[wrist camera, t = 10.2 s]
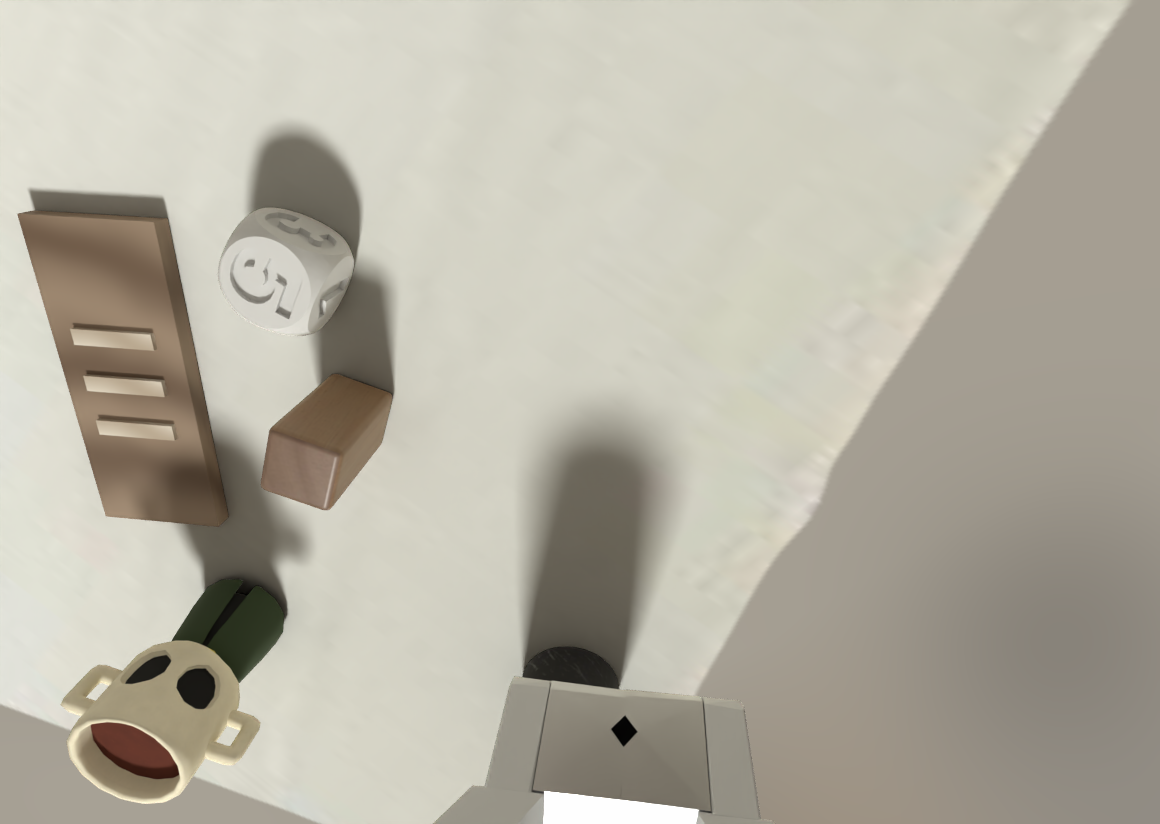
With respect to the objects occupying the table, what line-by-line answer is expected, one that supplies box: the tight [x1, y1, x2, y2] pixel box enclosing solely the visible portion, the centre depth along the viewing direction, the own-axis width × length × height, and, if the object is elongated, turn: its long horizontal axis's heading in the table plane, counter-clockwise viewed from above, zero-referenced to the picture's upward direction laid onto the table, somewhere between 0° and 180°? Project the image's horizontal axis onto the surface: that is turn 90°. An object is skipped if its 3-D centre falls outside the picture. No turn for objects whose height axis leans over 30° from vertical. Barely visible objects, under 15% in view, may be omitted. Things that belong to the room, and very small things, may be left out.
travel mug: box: [522, 647, 618, 689], centre depth 42 cm, size 8×8×20 cm
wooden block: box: [261, 374, 392, 510], centre depth 40 cm, size 4×4×8 cm
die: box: [218, 207, 354, 336], centre depth 37 cm, size 5×5×5 cm
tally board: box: [18, 210, 229, 527], centre depth 43 cm, size 20×8×2 cm, turn 178°
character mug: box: [61, 579, 284, 804], centre depth 45 cm, size 11×7×13 cm, turn 69°
